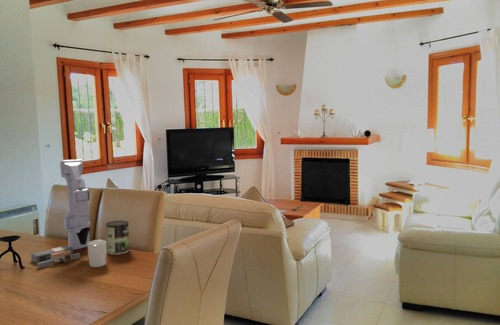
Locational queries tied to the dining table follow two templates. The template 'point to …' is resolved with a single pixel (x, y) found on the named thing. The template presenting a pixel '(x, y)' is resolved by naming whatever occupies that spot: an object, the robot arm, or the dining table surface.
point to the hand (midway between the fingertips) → (83, 244)
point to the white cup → (97, 253)
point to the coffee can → (117, 237)
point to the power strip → (45, 258)
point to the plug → (57, 259)
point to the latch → (61, 254)
